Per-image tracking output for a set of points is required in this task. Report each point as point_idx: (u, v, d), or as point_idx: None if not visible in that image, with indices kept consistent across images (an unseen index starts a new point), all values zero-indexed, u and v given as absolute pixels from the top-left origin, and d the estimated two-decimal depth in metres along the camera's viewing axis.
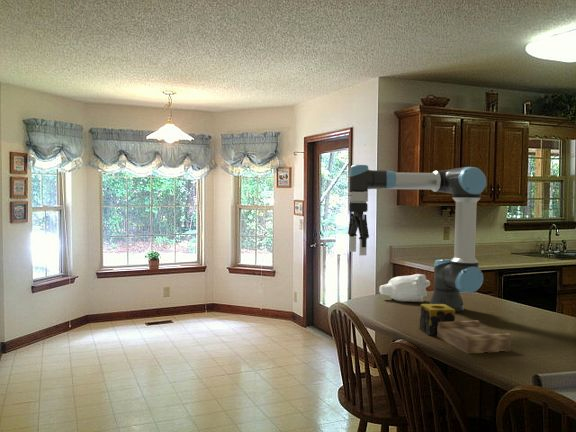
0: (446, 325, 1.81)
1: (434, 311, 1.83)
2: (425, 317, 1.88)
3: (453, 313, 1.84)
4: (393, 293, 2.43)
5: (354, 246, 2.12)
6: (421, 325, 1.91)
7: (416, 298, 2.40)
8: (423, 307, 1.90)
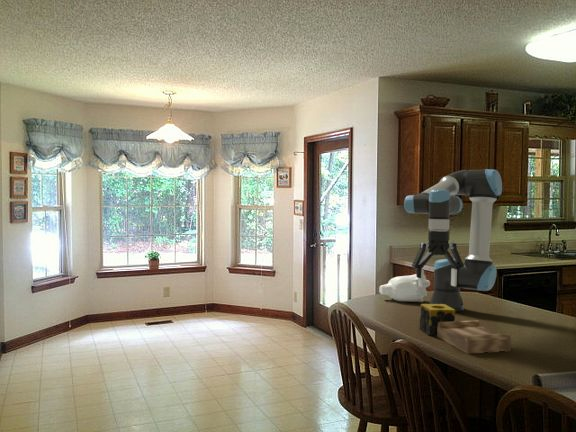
0: (446, 325, 1.81)
1: (434, 311, 1.83)
2: (425, 317, 1.88)
3: (453, 313, 1.84)
4: (393, 293, 2.43)
5: (453, 280, 1.89)
6: (421, 325, 1.91)
7: (416, 298, 2.40)
8: (423, 307, 1.90)
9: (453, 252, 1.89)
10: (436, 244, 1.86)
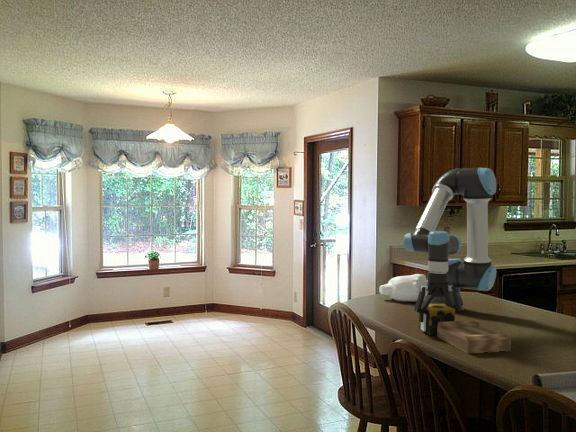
0: (446, 325, 1.81)
1: (434, 311, 1.83)
2: None
3: (453, 313, 1.84)
4: (393, 293, 2.43)
5: None
6: None
7: (416, 298, 2.40)
8: None
9: (451, 294, 1.89)
10: (435, 285, 1.87)
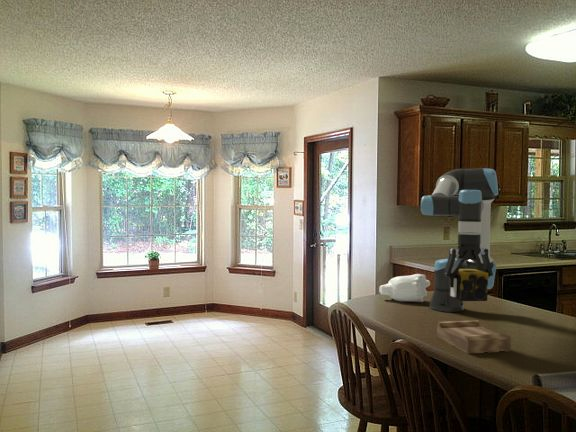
0: (446, 325, 1.81)
1: (466, 274, 1.69)
2: None
3: (486, 277, 1.70)
4: (393, 293, 2.43)
5: None
6: (450, 291, 1.77)
7: (416, 298, 2.40)
8: None
9: (483, 258, 1.76)
10: (466, 248, 1.73)
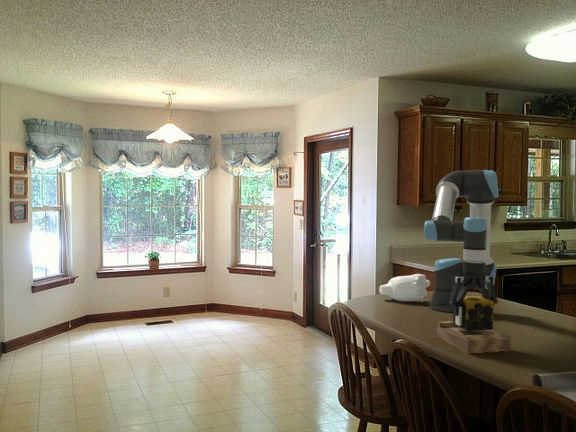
0: (446, 325, 1.81)
1: (471, 303, 1.68)
2: None
3: (492, 305, 1.69)
4: (393, 293, 2.43)
5: None
6: None
7: (416, 298, 2.40)
8: None
9: (488, 286, 1.75)
10: (471, 276, 1.72)
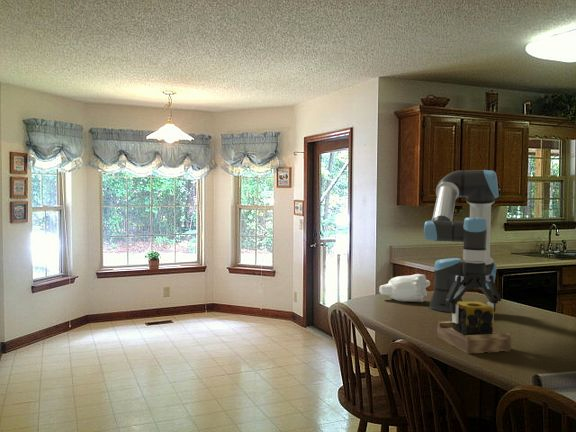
0: (446, 325, 1.81)
1: (471, 309, 1.68)
2: (460, 316, 1.73)
3: (491, 311, 1.69)
4: (393, 293, 2.43)
5: None
6: (455, 324, 1.76)
7: (416, 298, 2.40)
8: None
9: (489, 285, 1.75)
10: (472, 277, 1.72)
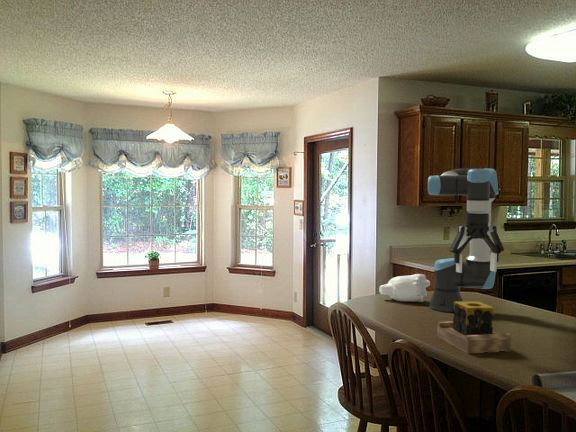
0: (446, 325, 1.81)
1: (471, 309, 1.68)
2: (460, 316, 1.73)
3: (491, 311, 1.69)
4: (393, 293, 2.43)
5: (493, 265, 1.78)
6: (455, 324, 1.76)
7: (416, 298, 2.40)
8: (457, 305, 1.75)
9: (493, 235, 1.78)
10: (475, 227, 1.75)
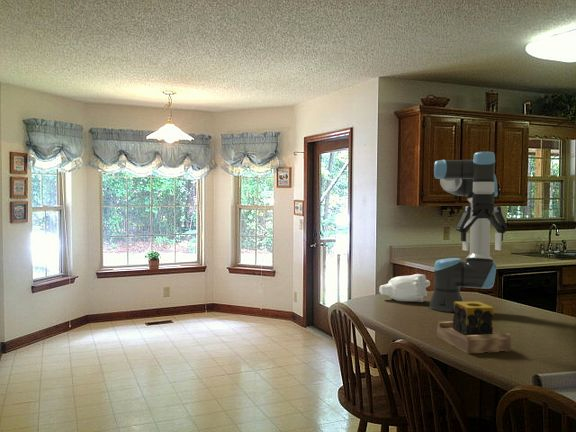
0: (446, 325, 1.81)
1: (471, 309, 1.68)
2: (460, 316, 1.73)
3: (491, 311, 1.69)
4: (393, 293, 2.43)
5: (498, 244, 1.86)
6: (455, 324, 1.76)
7: (416, 298, 2.40)
8: (457, 305, 1.75)
9: (497, 216, 1.86)
10: (481, 207, 1.84)
